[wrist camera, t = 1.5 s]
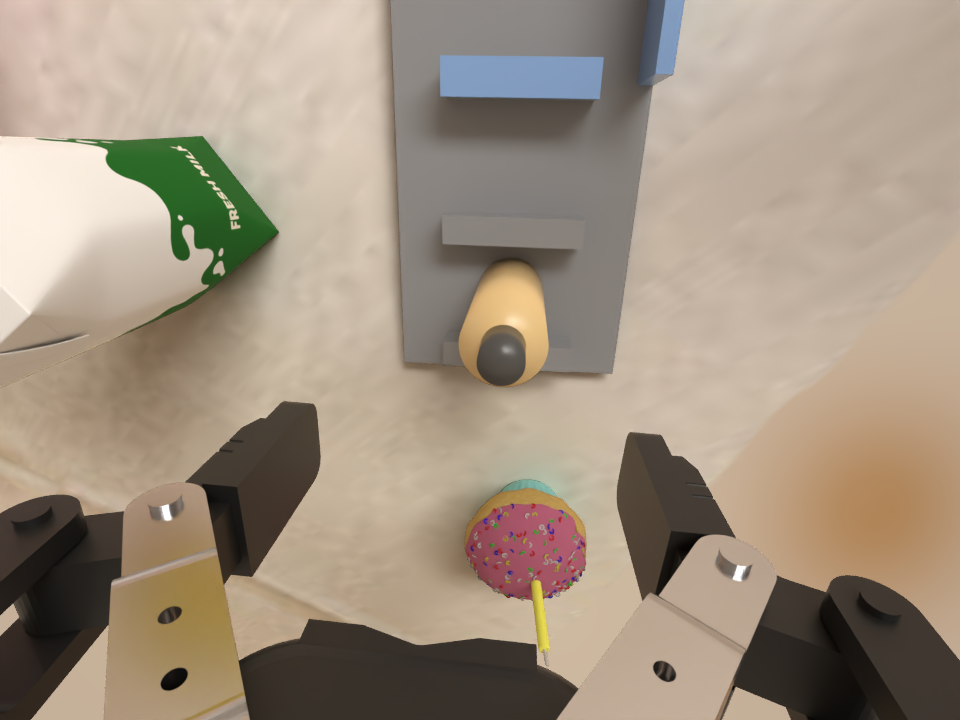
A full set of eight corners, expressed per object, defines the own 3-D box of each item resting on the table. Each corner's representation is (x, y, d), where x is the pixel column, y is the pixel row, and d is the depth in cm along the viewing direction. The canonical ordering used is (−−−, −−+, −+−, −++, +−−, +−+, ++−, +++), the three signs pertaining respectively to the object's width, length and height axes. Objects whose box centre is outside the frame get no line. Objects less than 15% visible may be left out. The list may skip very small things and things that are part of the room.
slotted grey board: (678, -131, 23) (715, -201, 19) (609, 367, 33) (622, 401, 29) (390, -127, 24) (358, -192, 20) (407, 356, 35) (389, 387, 30)
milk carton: (113, 200, 32) (-442, 261, 14) (204, 111, 30) (-331, 39, 11) (209, 308, 35) (-155, 483, 16) (301, 234, 32) (-8, 343, 14)
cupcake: (603, 513, 38) (634, 659, 27) (518, 562, 41) (514, 712, 30) (534, 438, 36) (537, 562, 25) (449, 494, 39) (418, 629, 28)
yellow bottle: (544, 259, 30) (554, 319, 19) (540, 321, 32) (546, 410, 21) (479, 256, 30) (452, 314, 19) (478, 318, 32) (452, 404, 21)
